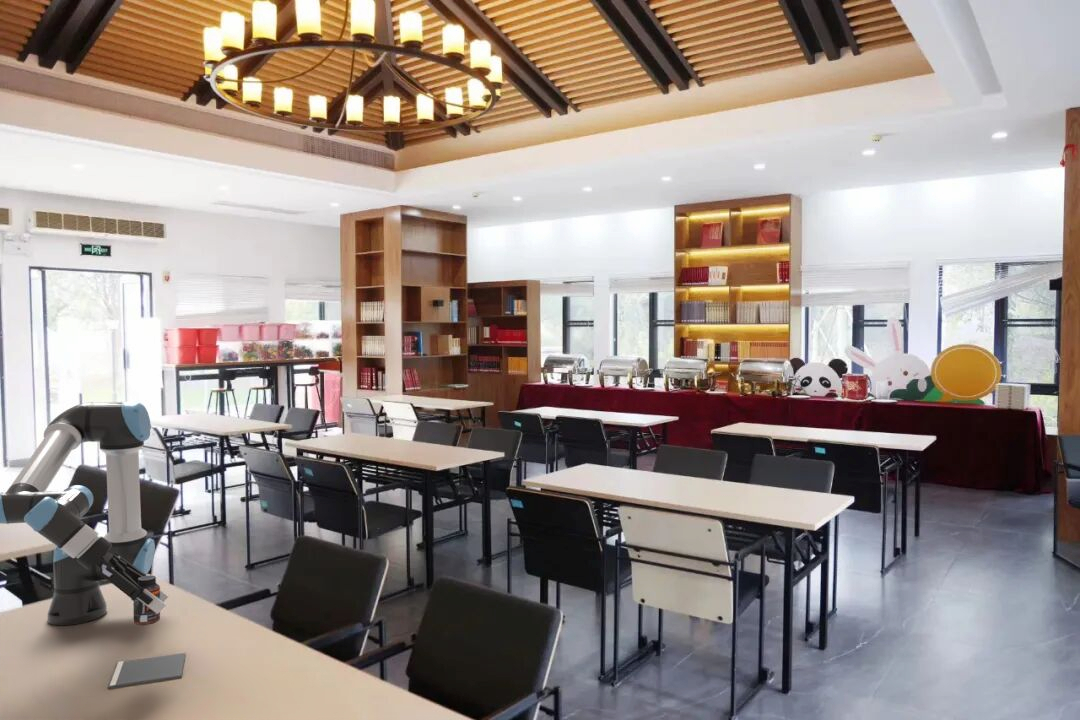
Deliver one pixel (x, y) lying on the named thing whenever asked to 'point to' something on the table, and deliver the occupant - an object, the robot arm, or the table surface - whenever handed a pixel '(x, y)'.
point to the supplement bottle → (141, 611)
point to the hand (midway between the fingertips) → (163, 604)
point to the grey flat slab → (147, 670)
